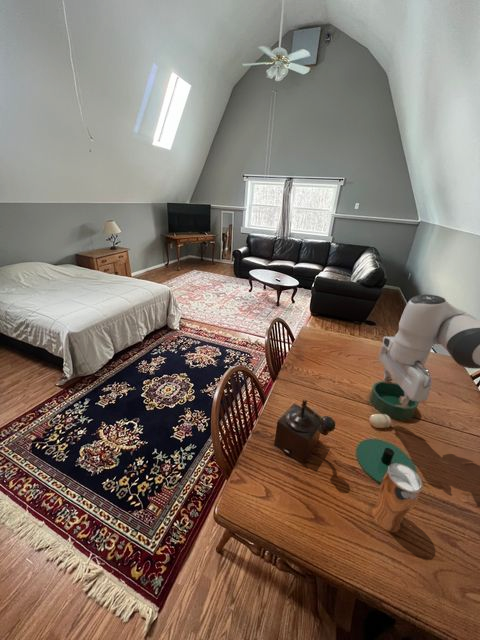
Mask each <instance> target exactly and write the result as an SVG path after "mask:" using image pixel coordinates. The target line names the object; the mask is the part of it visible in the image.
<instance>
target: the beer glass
mask: <svg viewBox="0 0 480 640" xmlns="http://www.w3.org/2000/svg"><path fill="white" fill-rule="evenodd" d="M423 488H424V484H423V480H422V478H421V477H420V475H419V474H418V472H417V473H416V472H415V471H414V470H413V469H411V468H410V467H408V466H406V465H404V464H400V463H393V464H391V465H390V466H389V467H388V469H387V471H386V473H385V474H384V476H383V479H382V481H381V484H379V491H378V499H377V502H376V504H375V505H373V507H372V510H371V512H372V516H373V519H374V521H375V523H377V525H378V526H379V527H381V528H382V529H383V530H385V531H387V532H391V533H395V532H398V531H399V530H400V529H401V525H402V520H403V519H404V517H405V516H406V515H408V514H409V513H410V512H411V511H412V509H414V507H415V506H416V504H417V502H418V500H419V498H420V495H421V492H422V490H423Z"/></svg>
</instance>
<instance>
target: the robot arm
mask: <svg viewBox="0 0 480 640" xmlns="http://www.w3.org/2000/svg"><path fill="white" fill-rule="evenodd" d="M397 330H398V331H397V333H396V334H395V335H394V336H383V338H382V345H381V347H380V350H379V354H378V361H379V363H381V365H382V366H383V367H384V368H383V381H385V383H391V382H392V381H393V380H394V381H395V383H396V384H398V385H399V386H400V387H401V388H402V390H403V391H404V395H405V396H404V397H403V396H400V399H399V401H400V403H401V404H402V405H401V406H408V405H407V404H408V402H409V400H411V401H417V402H419V403H422V402H427V401H428V399H429V396H430V393H431V389H432V384H433V379H432V376H431V371H430V370H429V369H428V368H427V367H425V364H426V363H427V361H428V358H429V357H430V353H431V350H432V348H433V346H434V345H440V346H442V347H443V348H444V350H445V351H446V352H448V354H449V355H450V356H451V358H452V359H453V360H454V362H455V363H456V364H458V365H459V366H461V367H463V368H466V369H472V370H473V369H480V320H478V319H477V318H476V317H474V316H473V315H472V314H470V313H468V312H466V311H464V310H462V309H460V308H457V307H455V306H454V305H452V304H451V303H449V302H448V301H447V300H446V299H445V298H444V297H442V296H440V295H435V294H428V293H427V294H426V293H425V294H417V295H415V296H413V297H411V298H410V299H409V300H408V302H407V303H406V305H405V307H404V309H403V312H402V313H401V317H400V320H399V322H398V329H397Z"/></svg>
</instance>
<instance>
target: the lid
mask: <svg viewBox="0 0 480 640" xmlns="http://www.w3.org/2000/svg"><path fill="white" fill-rule="evenodd" d="M355 456H356V460H357V462H358V464H359V466H360V468H361V469H362V470H363V471H364V473H366V474H367V475H368V477H370V478H371V479H372V480H373V481H375V482H376V483H378V484H379V485H381V481H382V479H383V476H384V474H385V473H386V471H387V469H388V467H389V466H390V465H391V464H393V463H400V464H404V465H406V466H408V467H410V468H411V469H413V470H414V471H415V472H416V473H417V474H418V471H417V468H416V466H415V463H414V462H413V460H412V459H411V458H410V457H409V456H408V454H407V453H405V452H404V451H403V450H402V449H400V448H399V447H397V446H396V445H395V444H393V443H390V442H389V441H386V440H383V439H378V438H367V439H364V440H362V441H360V442H359V443H358V444H357V446H356V450H355Z"/></svg>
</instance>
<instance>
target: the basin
mask: <svg viewBox="0 0 480 640" xmlns="http://www.w3.org/2000/svg"><path fill="white" fill-rule="evenodd" d="M400 396H403V397H404V396H405V395H404V391H403V390H402V388H401V387H400V386H399V385H398V383H397V382H392V381H391V383H385V381H384V380H383V381H377V382H375V383H374V384H373V385H372V388H371V390H370V394H369V403H370V405H371V406H372V407H373V408H374V409H375V410H376V411H378V413H379V414H386V415H388V416H389V417H390V418H391V419H395V420H399V421H407V420H410V419H412V418H414V415H415V412H416V410H417V408H418V405H419V403H420V402H417V401H411V400H409V402H408V404H407V405H406V406H403V405H402V404H401V403H400V401H399V399H400Z"/></svg>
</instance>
